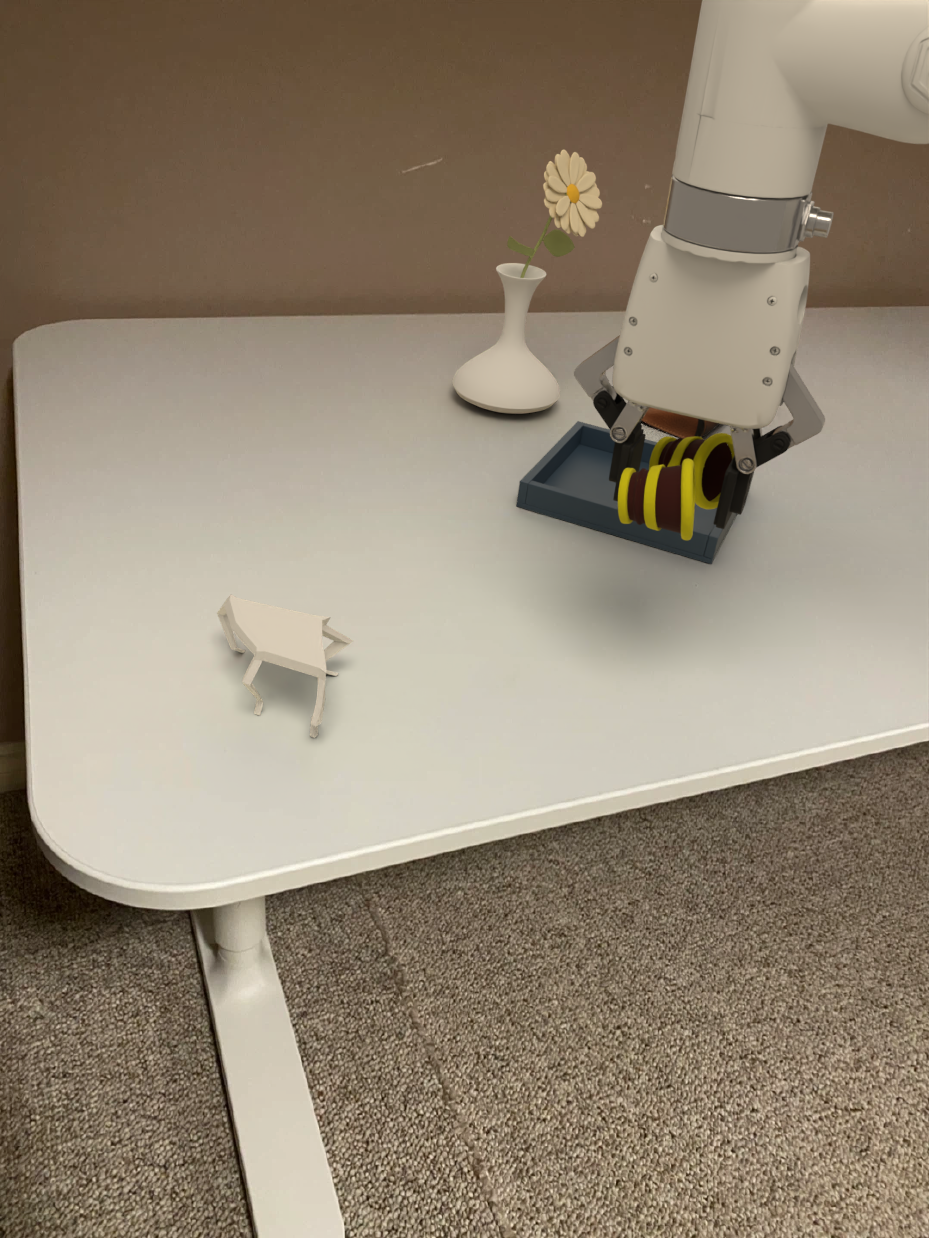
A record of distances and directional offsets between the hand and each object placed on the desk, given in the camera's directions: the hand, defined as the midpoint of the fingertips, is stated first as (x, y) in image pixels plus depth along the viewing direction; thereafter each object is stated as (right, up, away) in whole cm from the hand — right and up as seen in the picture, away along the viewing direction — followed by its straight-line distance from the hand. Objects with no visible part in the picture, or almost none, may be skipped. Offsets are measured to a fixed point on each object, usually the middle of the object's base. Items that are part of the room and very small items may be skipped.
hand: (673, 504), depth 70 cm
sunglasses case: (+12, +15, +48) cm, 52 cm away
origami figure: (-26, -12, +1) cm, 28 cm away
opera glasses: (0, -1, 0) cm, 1 cm away
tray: (+2, +4, +29) cm, 29 cm away
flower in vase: (-9, +15, +45) cm, 48 cm away
